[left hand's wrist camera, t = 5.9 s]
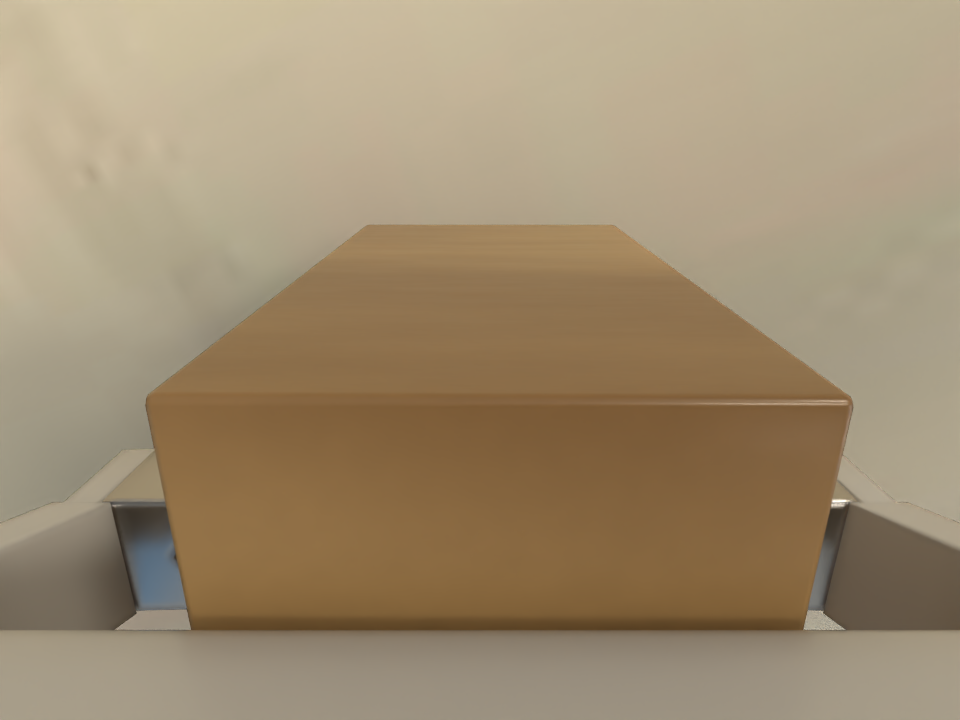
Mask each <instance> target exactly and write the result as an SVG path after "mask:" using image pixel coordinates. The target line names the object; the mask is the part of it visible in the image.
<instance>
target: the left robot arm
mask: <svg viewBox="0 0 960 720" xmlns="http://www.w3.org/2000/svg"><path fill="white" fill-rule="evenodd" d="M174 609H187V607H186V602H185V597H184V592H183V587H182V582H181V577H180V572H179V568H178V563H177V558H176V553H175V548H174V543H173V538H172V533H171V528H170V523H169V518H168V514H167V509H166V504H165V499H164V494H163V489H162V484H161V479H160V474H159V469H158V465H157V460H156V455H155V450H154V449H130V450H122V451H121V452H120V453H119V454H118V455H116V456H115V457H114V458H113V459H112V460H111V461H110V462H109V463H107V464H106V465H105V466H104V467H103V468H102V469H101V470H99V471H98V472H97V473H96V474H95V475H94V476H93V477H91V478H90V479H89V480H88V481H87V482H86V483H85V484H83V485H82V486H81V487H80V488H79V489H78V490H77V491H76V492H74V493H73V494H72V495H71V496H70V497H69V498H68V499H66V500H65V501H64V502H52V503H50V504H47V505H45V506H42V507H40V508H37V509H34V510H32V511H29V512H27V513H24V514H22V515H19V516H17V517H14V518H12V519H9V520H6V521H4V522H1V523H0V720H960V523H959V522H956V521H953V520H951V519H948V518H946V517H943V516H941V515H938V514H936V513H933V512H931V511H928V510H926V509H923V508H920V507H918V506H915V505H913V504H910V503H908V502H896V501H895V500H894V499H893V498H891V497H890V496H889V495H888V494H887V493H886V492H885V491H883V490H882V489H881V488H880V487H879V486H878V485H877V484H875V483H874V482H873V481H872V480H871V479H870V478H869V477H868V476H866V475H865V474H864V473H863V472H862V471H861V470H860V469H858V468H857V467H856V466H855V465H854V464H853V463H852V462H851V461H849V460H848V459H847V458H846V457H845V456H844V455H842V459H841V464H840V468H839V473H838V477H837V482H836V486H835V490H834V495H833V499H832V504H831V508H830V513H829V517H828V521H827V526H826V530H825V535H824V539H823V544H822V548H821V552H820V557H819V561H818V566H817V570H816V575H815V579H814V583H813V588H812V592H811V597H810V601H809V606H808V610H821V611H824V612H823V613H824V614H825V615H827V616H828V617H829V618H831V619H832V620H833V621H835V622H836V623H837V624H839V625H840V626H842V627H843V628H844V629H846V630H115V629H116V628H117V627H119V626H120V625H121V624H123V623H124V622H125V621H127V620H128V619H130V618H131V617H132V616H134V615H135V614H136V613H137V612H136V611H139V610H174Z"/></svg>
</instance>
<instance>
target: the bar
mask: <svg viewBox="0 0 960 720" xmlns="http://www.w3.org/2000/svg"><path fill="white" fill-rule="evenodd" d="M145 406H146V411H147V415H148V420H149V425H150V430H151V435H152V440H153V445H154V450H155V455H156V460H157V465H158V469H159V474H160V479H161V484H162V489H163V494H164V499H165V504H166V509H167V514H168V518H169V523H170V528H171V533H172V538H173V543H174V548H175V553H176V558H177V563H178V568H179V572H180V577H181V582H182V587H183V592H184V597H185V602H186V607H187V612H188V617H189V622H190V626H191V630H803V628H804V623H805V619H806V615H807V610H808V606H809V601H810V597H811V592H812V588H813V583H814V579H815V575H816V570H817V566H818V561H819V557H820V552H821V548H822V544H823V539H824V535H825V530H826V526H827V521H828V517H829V513H830V508H831V504H832V499H833V495H834V490H835V486H836V482H837V477H838V473H839V468H840V464H841V459H842V455H843V451H844V446H845V442H846V437H847V433H848V428H849V424H850V419H851V415H852V411H853V403H852V399H851V397H850V396H849V395H847V394H846V393H845V392H843V391H842V390H840V389H839V388H838V387H836V386H835V385H834V384H832V383H831V382H829V381H828V380H827V379H825V378H824V377H823V376H821V375H820V374H818V373H817V372H816V371H814V370H813V369H811V368H810V367H809V366H807V365H806V364H805V363H803V362H802V361H800V360H799V359H798V358H796V357H795V356H794V355H792V354H791V353H789V352H788V351H787V350H785V349H784V348H782V347H781V346H780V345H778V344H777V343H776V342H774V341H773V340H771V339H770V338H769V337H767V336H766V335H765V334H763V333H762V332H760V331H759V330H758V329H756V328H755V327H753V326H752V325H751V324H749V323H748V322H747V321H745V320H744V319H742V318H741V317H740V316H738V315H737V314H736V313H734V312H733V311H731V310H730V309H729V308H727V307H726V306H724V305H723V304H722V303H720V302H719V301H718V300H716V299H715V298H713V297H712V296H711V295H709V294H708V293H707V292H705V291H704V290H702V289H701V288H700V287H698V286H697V285H695V284H694V283H693V282H691V281H690V280H689V279H687V278H686V277H684V276H683V275H682V274H680V273H679V272H678V271H676V270H675V269H673V268H672V267H671V266H669V265H668V264H666V263H665V262H664V261H662V260H661V259H660V258H658V257H657V256H655V255H654V254H653V253H651V252H650V251H649V250H647V249H646V248H644V247H643V246H642V245H640V244H639V243H638V242H636V241H635V240H633V239H632V238H631V237H629V236H628V235H626V234H625V233H624V232H622V231H621V230H620V229H618V228H617V227H615V226H613V225H367V226H365V227H364V228H363V229H361V230H360V231H359V232H358V233H356V234H355V235H354V236H352V237H351V238H350V239H349V240H347V241H346V242H345V243H343V244H342V245H341V246H340V247H338V248H337V249H336V250H334V251H333V252H332V253H330V254H329V255H328V256H327V257H325V258H324V259H323V260H321V261H320V262H319V263H318V264H316V265H315V266H314V267H312V268H311V269H310V270H308V271H307V272H306V273H305V274H303V275H302V276H301V277H299V278H298V279H297V280H296V281H294V282H293V283H292V284H290V285H289V286H288V287H287V288H285V289H284V290H283V291H281V292H280V293H279V294H277V295H276V296H275V297H274V298H272V299H271V300H270V301H268V302H267V303H266V304H265V305H263V306H262V307H261V308H259V309H258V310H257V311H255V312H254V313H253V314H252V315H250V316H249V317H248V318H246V319H245V320H244V321H243V322H241V323H240V324H239V325H237V326H236V327H235V328H234V329H232V330H231V331H230V332H228V333H227V334H226V335H224V336H223V337H222V338H221V339H219V340H218V341H217V342H215V343H214V344H213V345H212V346H210V347H209V348H208V349H206V350H205V351H204V352H202V353H201V354H200V355H199V356H197V357H196V358H195V359H193V360H192V361H191V362H190V363H188V364H187V365H186V366H184V367H183V368H182V369H181V370H179V371H178V372H177V373H175V374H174V375H173V376H171V377H170V378H169V379H168V380H166V381H165V382H164V383H162V384H161V385H160V386H159V387H157V388H156V389H155V390H153V391H152V392H151V393H150V394H148V396H147V398H146V405H145Z"/></svg>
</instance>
